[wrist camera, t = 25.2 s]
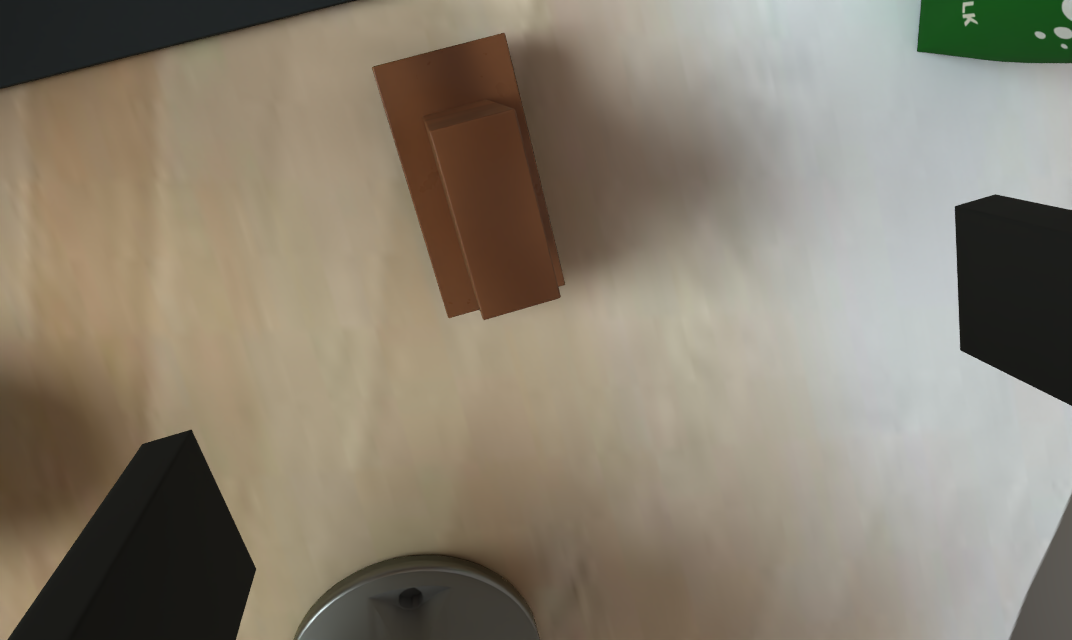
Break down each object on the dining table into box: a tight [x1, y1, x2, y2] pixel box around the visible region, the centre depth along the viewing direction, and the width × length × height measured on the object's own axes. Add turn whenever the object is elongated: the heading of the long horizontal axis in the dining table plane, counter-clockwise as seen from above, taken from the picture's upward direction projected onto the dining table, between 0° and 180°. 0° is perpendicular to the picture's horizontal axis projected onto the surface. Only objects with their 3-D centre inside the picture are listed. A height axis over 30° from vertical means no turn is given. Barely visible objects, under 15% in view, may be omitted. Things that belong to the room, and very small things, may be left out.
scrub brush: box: [372, 33, 565, 320], centre depth 32 cm, size 6×12×12 cm, turn 14°
